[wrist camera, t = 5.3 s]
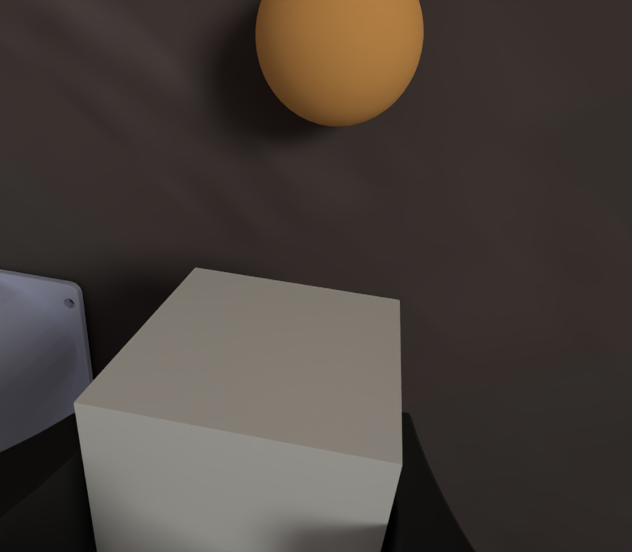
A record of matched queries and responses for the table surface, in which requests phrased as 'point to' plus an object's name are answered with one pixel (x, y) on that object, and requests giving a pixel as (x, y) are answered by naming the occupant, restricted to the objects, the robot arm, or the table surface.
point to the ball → (339, 55)
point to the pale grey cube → (247, 422)
